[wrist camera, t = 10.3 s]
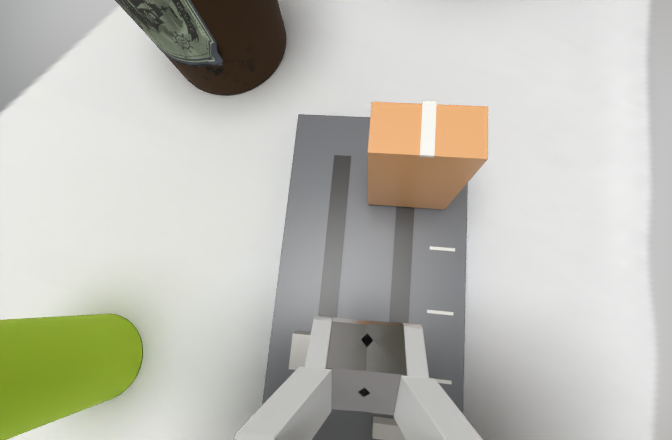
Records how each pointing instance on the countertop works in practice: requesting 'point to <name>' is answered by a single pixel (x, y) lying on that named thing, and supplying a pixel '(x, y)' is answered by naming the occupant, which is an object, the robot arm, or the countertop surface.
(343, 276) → the console
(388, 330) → the robot arm
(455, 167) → the fader lever
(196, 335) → the countertop surface
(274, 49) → the olive oil
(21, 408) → the soap dispenser
